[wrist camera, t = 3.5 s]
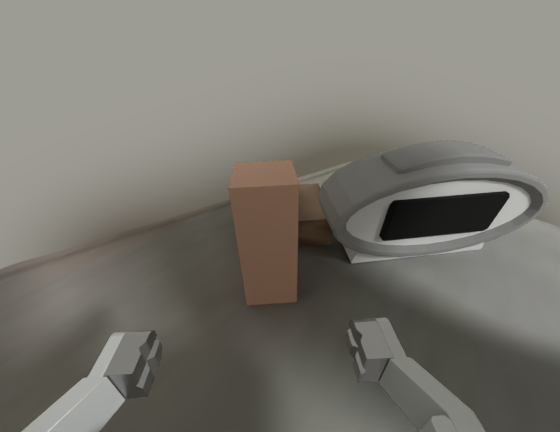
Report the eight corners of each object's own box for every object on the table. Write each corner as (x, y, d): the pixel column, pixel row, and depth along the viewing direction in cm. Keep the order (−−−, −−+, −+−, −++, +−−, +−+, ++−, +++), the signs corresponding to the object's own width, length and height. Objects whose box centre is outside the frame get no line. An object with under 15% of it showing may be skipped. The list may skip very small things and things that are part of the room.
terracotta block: (291, 266, 28) (291, 159, 21) (296, 302, 24) (298, 184, 17) (249, 269, 28) (234, 162, 21) (247, 305, 24) (228, 188, 17)
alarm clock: (326, 272, 27) (344, 170, 19) (313, 235, 32) (323, 141, 24) (510, 251, 30) (593, 153, 22) (472, 220, 34) (529, 130, 27)
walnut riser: (316, 205, 40) (318, 183, 38) (331, 244, 32) (333, 218, 29) (256, 208, 40) (253, 186, 37) (254, 249, 31) (251, 223, 29)
